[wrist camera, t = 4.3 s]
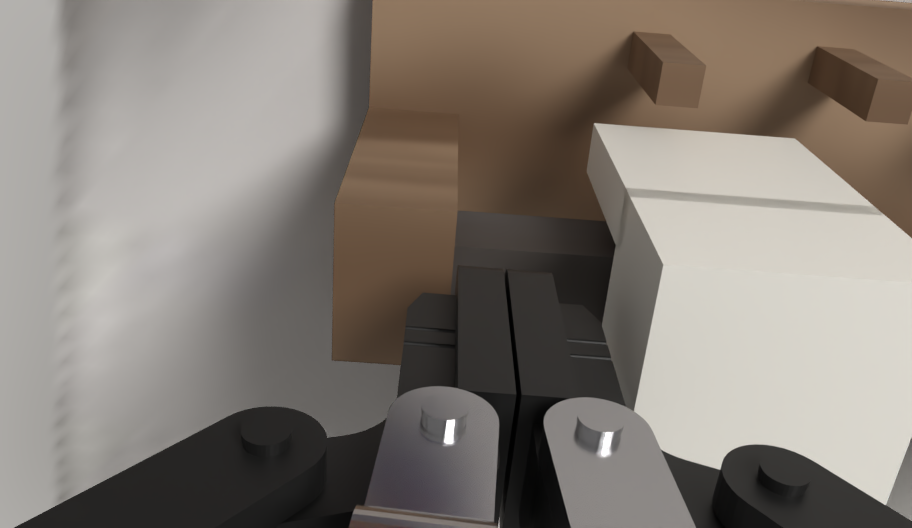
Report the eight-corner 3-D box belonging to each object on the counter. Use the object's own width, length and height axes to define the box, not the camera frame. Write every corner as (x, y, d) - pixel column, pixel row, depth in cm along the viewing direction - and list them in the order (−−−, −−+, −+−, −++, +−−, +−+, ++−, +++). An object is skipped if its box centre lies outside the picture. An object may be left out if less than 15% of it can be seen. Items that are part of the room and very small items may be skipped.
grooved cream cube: (593, 123, 17) (663, 264, 11) (795, 138, 17) (967, 286, 11) (564, 319, 19) (610, 526, 13) (745, 331, 19) (871, 543, 13)
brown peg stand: (378, -41, 19) (317, 40, 11) (1257, 31, 19) (1826, 159, 11) (365, 315, 23) (313, 571, 15) (1099, 367, 23) (1438, 640, 15)
